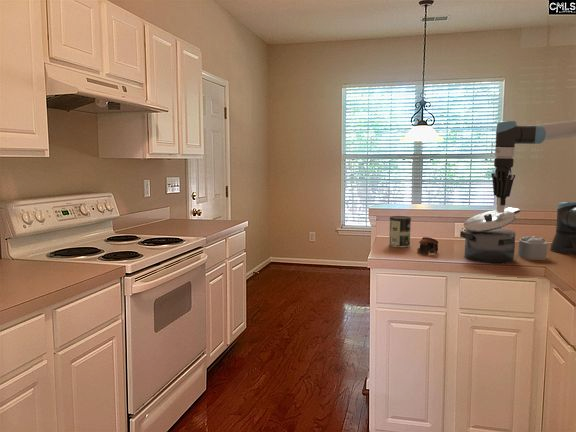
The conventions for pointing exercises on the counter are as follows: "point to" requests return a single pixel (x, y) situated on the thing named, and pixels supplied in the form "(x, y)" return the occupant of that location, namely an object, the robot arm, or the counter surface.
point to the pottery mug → (428, 245)
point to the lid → (490, 220)
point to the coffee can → (399, 231)
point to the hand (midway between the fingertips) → (500, 212)
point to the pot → (489, 246)
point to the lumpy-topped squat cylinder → (533, 248)
